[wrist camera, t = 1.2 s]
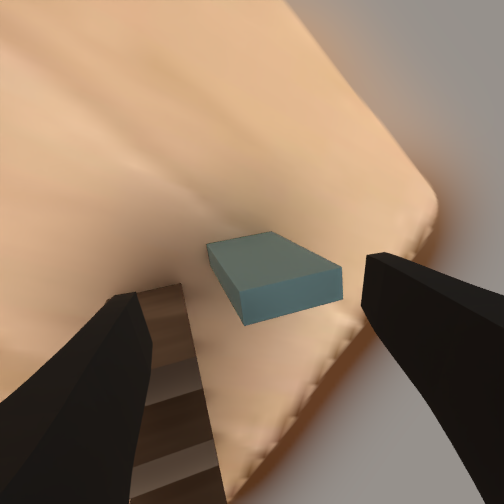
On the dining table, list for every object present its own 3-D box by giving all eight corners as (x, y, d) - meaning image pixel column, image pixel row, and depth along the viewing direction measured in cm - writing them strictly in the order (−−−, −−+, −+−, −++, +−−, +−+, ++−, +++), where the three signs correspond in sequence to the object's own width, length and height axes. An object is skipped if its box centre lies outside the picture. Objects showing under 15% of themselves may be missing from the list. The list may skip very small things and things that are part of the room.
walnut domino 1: (185, 304, 21) (202, 388, 13) (113, 321, 20) (81, 426, 12) (181, 283, 21) (196, 356, 12) (107, 299, 20) (69, 392, 11)
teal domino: (273, 252, 22) (343, 299, 14) (210, 265, 21) (244, 326, 13) (271, 231, 22) (341, 267, 14) (206, 243, 21) (239, 291, 12)
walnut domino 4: (206, 404, 24) (232, 528, 15) (143, 424, 23) (134, 571, 14) (202, 387, 23) (227, 506, 15) (138, 407, 22) (126, 549, 14)
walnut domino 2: (196, 357, 23) (218, 465, 14) (129, 376, 21) (110, 506, 13) (192, 338, 22) (213, 438, 14) (123, 357, 21) (100, 479, 13)
